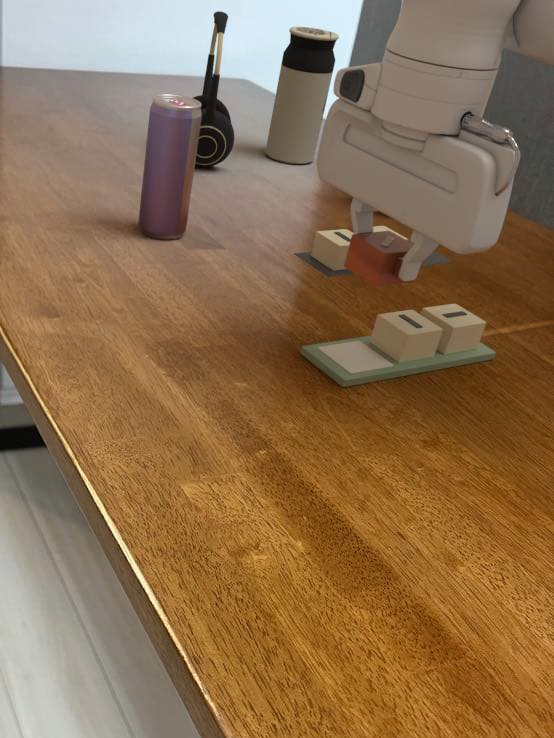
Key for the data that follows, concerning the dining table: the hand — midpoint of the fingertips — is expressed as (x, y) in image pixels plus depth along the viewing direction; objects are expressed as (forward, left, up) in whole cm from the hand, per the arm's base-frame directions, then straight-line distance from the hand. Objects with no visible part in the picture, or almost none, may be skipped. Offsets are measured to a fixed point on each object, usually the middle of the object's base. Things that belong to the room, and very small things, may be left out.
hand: (381, 264), depth 77 cm
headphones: (-19, -62, -10) cm, 66 cm away
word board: (-6, 0, -10) cm, 12 cm away
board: (-20, -21, -10) cm, 31 cm away
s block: (0, 0, -1) cm, 1 cm away
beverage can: (+2, -36, -10) cm, 37 cm away
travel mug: (-36, -62, -10) cm, 72 cm away
